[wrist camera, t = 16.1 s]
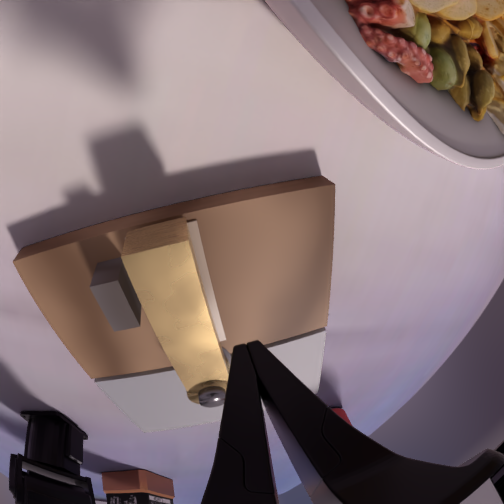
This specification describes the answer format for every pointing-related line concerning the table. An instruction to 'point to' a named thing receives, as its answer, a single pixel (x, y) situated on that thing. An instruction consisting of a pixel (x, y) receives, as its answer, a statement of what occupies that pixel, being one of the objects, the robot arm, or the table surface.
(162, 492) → the whiskey bottle
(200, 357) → the swing bar
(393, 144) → the table surface
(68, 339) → the door board
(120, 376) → the board
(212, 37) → the table surface
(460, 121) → the bowl
